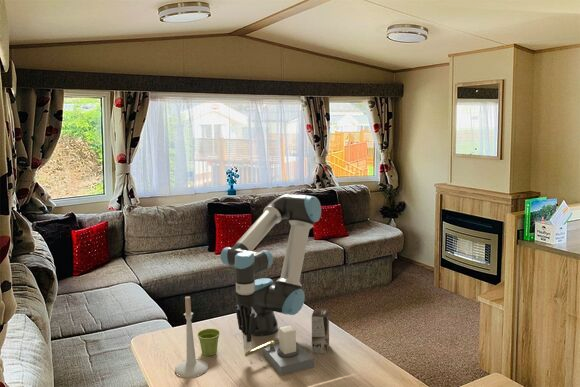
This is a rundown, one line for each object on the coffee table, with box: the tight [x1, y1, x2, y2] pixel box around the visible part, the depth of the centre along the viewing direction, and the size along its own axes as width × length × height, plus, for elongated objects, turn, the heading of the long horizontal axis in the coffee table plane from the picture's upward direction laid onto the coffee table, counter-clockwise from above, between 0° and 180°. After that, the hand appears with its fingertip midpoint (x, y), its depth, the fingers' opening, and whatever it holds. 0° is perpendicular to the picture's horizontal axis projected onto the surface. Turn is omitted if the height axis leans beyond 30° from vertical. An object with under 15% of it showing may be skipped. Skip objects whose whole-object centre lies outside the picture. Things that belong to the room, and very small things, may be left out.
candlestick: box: [174, 295, 209, 378], centre depth 189 cm, size 13×13×30 cm
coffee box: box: [311, 308, 330, 354], centre depth 205 cm, size 9×6×16 cm
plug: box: [277, 324, 298, 358], centre depth 194 cm, size 8×8×14 cm
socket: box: [262, 341, 315, 376], centre depth 195 cm, size 18×14×5 cm
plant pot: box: [196, 328, 221, 357], centre depth 204 cm, size 9×9×9 cm
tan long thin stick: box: [244, 339, 276, 357], centre depth 195 cm, size 15×2×1 cm, turn 135°
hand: (247, 348), depth 195 cm, fingers closed
